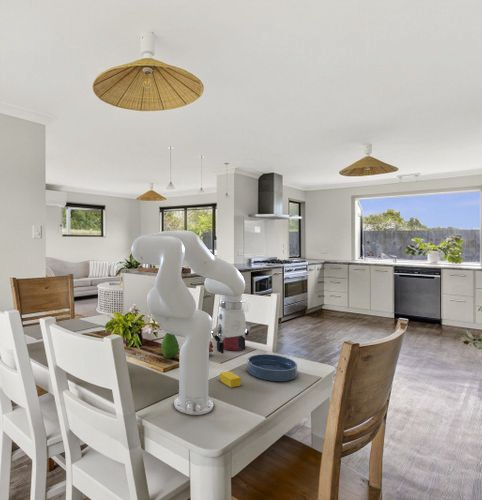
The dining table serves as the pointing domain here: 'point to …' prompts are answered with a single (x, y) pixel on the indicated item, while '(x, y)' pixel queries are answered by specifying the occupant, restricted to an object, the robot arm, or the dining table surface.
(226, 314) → the robot arm
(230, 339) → the kitchen canister
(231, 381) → the sponge
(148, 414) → the dining table surface
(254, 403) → the dining table surface
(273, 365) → the bowl
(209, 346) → the dragon fruit
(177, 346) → the avocado
